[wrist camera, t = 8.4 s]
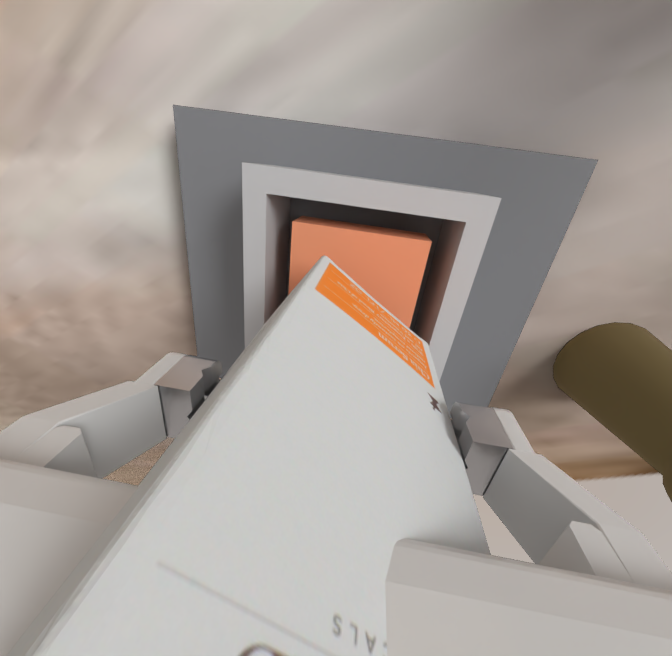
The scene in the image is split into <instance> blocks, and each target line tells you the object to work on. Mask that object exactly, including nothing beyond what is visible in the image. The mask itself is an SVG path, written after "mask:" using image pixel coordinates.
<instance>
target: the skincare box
mask: <svg viewBox="0 0 672 656" xmlns="http://www.w3.org/2000/svg"><path fill="white" fill-rule="evenodd" d="M138 486H139V487H138V488H137V490H136V491H135V492H134V494H133V495H132V496H131V497H130V499H129V500H128V501H127V503H126V504H125V505H124V506H123V508H122V509H121V510H120V511H119V513H118V514H117V515H116V517H115V518H114V519H113V520H112V522H111V523H110V524H109V526H108V527H107V528H106V529H105V531H104V532H103V533H102V534H101V536H100V537H99V538H98V540H97V541H96V542H95V543H94V545H93V546H92V547H91V548H90V550H89V551H88V552H87V554H86V555H85V556H84V557H83V559H82V560H81V561H80V562H79V564H78V565H77V566H76V567H75V569H74V570H73V571H72V573H71V574H70V575H69V576H68V578H67V579H66V580H65V581H64V583H63V584H62V585H61V587H60V588H59V589H58V590H57V592H56V593H55V594H54V595H53V597H52V598H51V599H50V600H49V602H48V603H47V604H46V606H45V607H44V608H43V609H42V611H41V612H40V613H39V614H38V616H37V617H36V618H35V620H34V621H33V622H32V623H31V625H30V626H29V627H28V628H27V630H26V631H25V632H24V633H23V635H22V636H21V637H20V639H19V640H18V641H17V643H16V644H15V645H14V646H13V648H12V649H11V650H10V652H9V653H8V654H7V656H387V632H386V592H385V580H386V576H387V572H388V568H389V564H390V560H391V556H392V552H393V548H394V545H395V544H396V542H397V541H398V540H401V539H412V540H417V541H422V542H427V543H432V544H437V545H442V546H448V547H453V548H458V549H463V550H468V551H473V552H478V553H483V554H488V555H491V554H490V551H489V547H488V544H487V540H486V537H485V534H484V530H483V527H482V523H481V520H480V517H479V514H478V510H477V506H476V503H475V500H474V497H473V493H472V490H471V486H470V483H469V479H468V476H467V473H466V470H465V466H464V462H463V459H462V455H461V452H460V449H459V446H458V442H457V439H456V435H455V432H454V429H453V426H452V423H451V419H450V416H449V412H448V409H447V406H446V403H445V399H444V396H443V392H442V389H441V386H440V382H439V379H438V376H437V372H436V369H435V365H434V361H433V359H432V355H431V352H430V349H429V345H428V343H427V342H426V341H424V340H423V339H422V338H420V337H419V336H418V335H416V334H415V333H414V332H413V331H412V330H410V329H409V328H408V327H407V326H406V325H405V324H403V323H402V322H401V321H400V320H399V319H398V318H396V317H395V316H394V315H393V314H392V313H390V312H389V311H388V310H387V309H386V308H384V307H383V306H382V305H381V304H380V303H379V302H377V301H376V300H375V299H374V298H373V297H372V296H371V295H369V294H368V293H367V292H366V291H365V290H364V289H363V288H362V287H361V286H359V285H358V284H357V283H356V282H355V281H354V280H353V279H352V278H351V277H350V276H348V275H347V274H346V273H345V272H344V271H343V270H342V269H340V268H339V267H338V266H337V265H336V264H335V263H334V262H333V261H332V260H331V259H330V258H328V257H327V256H325V255H324V256H322V257H321V258H320V259H319V260H318V261H317V262H316V264H315V265H314V266H313V267H312V268H311V269H310V271H309V272H308V273H307V274H306V275H305V276H304V277H303V279H302V280H301V281H300V282H299V283H298V284H297V286H296V287H295V288H294V289H293V290H292V291H291V293H290V294H289V295H288V296H287V297H286V299H285V300H284V301H283V302H282V303H281V305H280V306H279V307H278V308H277V309H276V311H275V312H274V313H273V314H272V315H271V317H270V318H269V319H268V320H267V322H266V323H265V324H264V325H263V326H262V328H261V329H260V330H259V332H258V333H257V334H256V335H255V337H254V338H253V339H252V341H251V342H250V343H249V345H248V346H247V347H246V348H245V350H244V351H243V352H242V353H241V355H240V356H239V357H238V359H237V360H236V361H235V362H234V364H233V365H232V366H231V367H230V369H229V370H228V371H227V373H226V374H225V375H224V376H223V378H222V379H221V380H220V382H219V383H218V384H217V385H216V387H215V388H214V389H213V391H212V392H211V393H210V395H209V396H208V397H207V398H206V400H205V401H204V402H203V404H202V405H201V406H200V407H199V409H198V410H197V411H196V412H195V414H194V415H193V416H192V418H191V419H190V420H189V421H188V423H187V424H186V425H185V426H184V428H183V429H182V430H181V432H180V433H179V434H178V435H177V437H176V438H175V439H174V440H173V442H172V443H171V444H170V446H169V447H168V448H167V449H166V451H165V452H164V453H163V454H162V456H161V457H160V458H159V460H158V461H157V462H156V463H155V465H154V466H153V467H152V469H151V470H150V471H149V472H148V474H147V475H146V476H145V477H144V479H143V480H142V481H141V483H140V484H139V485H138Z"/></svg>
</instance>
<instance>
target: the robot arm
mask: <svg viewBox="0 0 672 656" xmlns="http://www.w3.org/2000/svg"><path fill="white" fill-rule="evenodd" d="M221 374H222V364H221V362H220V361H218V360H213V359H208V358H203V357H197V356H192V355H186V354H181V353H176V352H171V353H168V354H166V355H165V356H164V357H163V358H162V359H161V360H159V361H158V362H157V363H156V364H155V365H153V366H152V367H151V368H150V369H149V370H148V371H146V372H145V373H144V374H143V375H142V376H140V377H139V378H138V379H137V380H136V381H135V382H133V381H127V382H124V383H121V384H118V385H115V386H112V387H109V388H106V389H103V390H100V391H97V392H94V393H91V394H88V395H85V396H82V397H79V398H76V399H73V400H70V401H67V402H64V403H61V404H58V405H55V406H52V407H49V408H46V409H43V410H40V411H37V412H34V413H31V414H28V415H25V416H23V417H21V418H20V419H18V420H17V421H15V422H14V423H12V424H11V425H9V426H8V427H7V428H5V429H4V430H2V431H1V432H0V656H7V654H8V653H9V652H10V650H11V649H12V648H13V646H14V645H15V644H16V643H17V641H18V640H19V639H20V637H21V636H22V635H23V633H24V632H25V631H26V630H27V628H28V627H29V626H30V625H31V623H32V622H33V621H34V620H35V618H36V617H37V616H38V614H39V613H40V612H41V611H42V609H43V608H44V607H45V606H46V604H47V603H48V602H49V600H50V599H51V598H52V597H53V595H54V594H55V593H56V592H57V590H58V589H59V588H60V587H61V585H62V584H63V583H64V581H65V580H66V579H67V578H68V576H69V575H70V574H71V573H72V571H73V570H74V569H75V567H76V566H77V565H78V564H79V562H80V561H81V560H82V559H83V557H84V556H85V555H86V554H87V552H88V551H89V550H90V548H91V547H92V546H93V545H94V543H95V542H96V541H97V540H98V538H99V537H100V536H101V534H102V533H103V532H104V531H105V529H106V528H107V527H108V526H109V524H110V523H111V522H112V520H113V519H114V518H115V517H116V515H117V514H118V513H119V511H120V510H121V509H122V508H123V506H124V505H125V504H126V503H127V501H128V500H129V499H130V497H131V496H132V495H133V494H134V492H135V491H136V490H137V488H138V487H139V486H137V485H132V484H127V483H122V482H117V481H112V480H107V479H102V478H104V477H105V476H107V475H109V474H110V473H112V472H113V471H115V470H117V469H118V468H120V467H121V466H123V465H125V464H126V463H128V462H130V461H131V460H133V459H134V458H136V457H138V456H139V455H141V454H142V453H144V452H146V451H147V450H149V449H151V448H152V447H154V446H155V445H157V444H159V443H160V442H162V441H163V440H165V439H166V438H167V437H171V438H176V437H177V435H178V434H179V433H180V432H181V430H182V429H183V428H184V426H185V425H186V424H187V423H188V421H189V420H190V419H191V418H192V416H193V415H194V414H195V412H196V411H197V410H198V409H199V407H200V406H201V405H202V404H203V402H204V401H205V400H206V398H207V397H208V396H209V395H210V393H211V392H212V391H213V389H214V388H215V387H216V385H217V384H218V383H219V382H220V380H219V376H220V375H221ZM450 414H451V418H452V420H451V423H452V426H453V429H454V432H455V435H456V439H457V442H458V446H459V449H460V452H461V455H462V459H463V462H464V466H465V470H466V473H467V476H468V479H469V483H470V486H471V490H472V493H473V494H476V495H481V496H483V498H484V500H485V501H486V502H487V503H488V505H489V506H490V507H491V508H492V510H493V511H494V512H495V513H496V515H497V516H498V517H499V519H500V520H501V521H502V522H503V524H504V525H505V526H506V527H507V529H508V530H509V531H510V533H511V534H512V535H513V536H514V537H515V539H516V540H517V541H518V543H519V544H520V545H521V546H522V548H523V549H524V550H525V552H526V553H527V554H528V555H529V557H530V558H531V559H532V560H533V562H534V563H535V564H534V563H529V562H524V561H518V560H514V559H508V558H503V557H498V556H493V555H488V554H483V553H478V552H473V551H468V550H463V549H458V548H453V547H448V546H442V545H437V544H432V543H427V542H422V541H417V540H412V539H401V540H398V541H397V542H396V544H395V545H394V548H393V552H392V556H391V560H390V564H389V568H388V572H387V576H386V580H385V592H386V632H387V656H672V572H671V571H670V570H669V568H668V567H667V566H666V564H665V563H664V562H663V560H662V559H661V558H660V556H659V555H658V553H657V552H656V551H655V549H654V548H653V547H652V545H651V544H650V543H649V541H648V540H647V539H646V537H645V536H644V535H643V533H642V532H640V531H639V530H638V529H637V528H635V527H634V526H633V525H631V524H630V523H629V522H628V521H626V520H625V519H624V518H622V517H621V516H620V515H618V514H617V513H616V512H615V511H613V510H612V509H611V508H610V507H608V506H607V505H606V504H604V503H603V502H602V501H600V500H599V499H598V498H596V497H595V496H594V495H593V494H591V493H590V492H589V491H588V490H586V489H585V488H584V487H582V486H581V485H580V484H579V483H577V482H576V481H575V480H573V479H572V478H571V477H570V476H568V475H567V474H566V473H564V472H563V471H562V470H560V469H559V468H558V467H557V466H555V465H554V464H553V463H551V462H550V461H549V460H548V459H546V458H545V457H544V456H542V455H541V454H536V453H535V452H534V450H533V449H532V447H531V445H530V443H529V442H528V440H527V438H526V436H525V435H524V433H523V431H522V429H521V428H520V426H519V424H518V422H517V421H516V419H515V417H514V415H513V414H512V412H511V411H509V410H508V409H501V408H494V407H484V406H478V405H472V404H466V403H460V402H455V403H454V404H453V405H452V408H451V410H450Z"/></svg>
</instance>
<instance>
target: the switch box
mask: <svg viewBox="0 0 672 656" xmlns="http://www.w3.org/2000/svg"><path fill="white" fill-rule="evenodd" d="M173 110H174V121H175V131H176V141H177V151H178V161H179V172H180V182H181V192H182V202H183V213H184V223H185V233H186V243H187V254H188V264H189V274H190V284H191V295H192V305H193V315H194V325H195V336H196V346H197V356H198V357H203V358H208V359H213V360H218V361H220V362H221V364H222V374H221V375H220V376H219V378H223V376H224V375H225V374H226V373H227V371H228V370H229V369H230V367H231V366H232V365H233V364H234V362H235V361H236V360H237V359H238V357H239V356H240V355H241V353H242V352H243V351H244V350H245V348H246V347H247V346H248V345H249V343H250V342H251V341H252V339H253V338H254V337H255V335H256V334H257V333H258V332H259V330H260V329H261V328H262V326H263V325H264V324H265V323H266V322H267V320H268V319H269V318H270V317H271V315H272V314H273V313H274V312H275V311H276V309H277V308H278V307H279V306H280V305H281V303H282V302H283V301H284V300H285V299H286V297H287V296H288V291H289V273H290V254H291V236H292V221H294V220H295V219H297V218H299V217H301V216H308V217H315V218H321V219H328V220H335V221H342V222H349V223H356V224H363V225H370V226H376V227H383V228H390V229H397V230H404V231H411V232H418V233H425V234H426V235H427V236H428V238H429V239H430V240H431V241H432V243H431V247H430V251H429V255H428V259H427V263H426V266H425V270H424V274H423V278H422V282H421V286H420V290H419V294H418V297H417V301H416V305H415V309H414V313H413V317H412V321H411V324H410V328H409V329H410V330H412V331H413V332H414V333H415V334H416V335H418V336H419V337H420V338H422V339H423V340H424V341H426V342H427V343H428V345H429V349H430V352H431V355H432V359H433V361H434V365H435V369H436V372H437V376H438V379H439V382H440V386H441V389H442V392H443V396H444V399H445V403H446V406H447V409H448V412H449V416H450V418H451V414H450V410H451V408H452V405H453V404H454V403H455V402H460V403H466V404H472V405H478V406H484V407H488V405H489V403H490V401H491V399H492V396H493V394H494V392H495V390H496V387H497V385H498V383H499V381H500V378H501V376H502V374H503V372H504V370H505V367H506V365H507V363H508V361H509V358H510V356H511V354H512V352H513V349H514V347H515V345H516V343H517V340H518V338H519V336H520V334H521V332H522V329H523V327H524V325H525V323H526V320H527V318H528V316H529V314H530V311H531V309H532V307H533V305H534V302H535V300H536V298H537V296H538V294H539V291H540V289H541V287H542V285H543V282H544V280H545V278H546V276H547V273H548V271H549V269H550V267H551V264H552V262H553V260H554V258H555V256H556V253H557V251H558V249H559V247H560V244H561V242H562V240H563V238H564V235H565V233H566V231H567V229H568V226H569V224H570V222H571V220H572V218H573V215H574V213H575V211H576V209H577V206H578V204H579V202H580V200H581V197H582V195H583V193H584V191H585V188H586V186H587V184H588V182H589V180H590V177H591V175H592V173H593V171H594V168H595V166H596V164H597V162H598V160H595V159H587V158H579V157H572V156H564V155H556V154H549V153H541V152H533V151H525V150H518V149H510V148H502V147H495V146H487V145H479V144H472V143H464V142H456V141H448V140H441V139H433V138H425V137H418V136H410V135H402V134H394V133H387V132H379V131H371V130H364V129H356V128H348V127H340V126H333V125H325V124H317V123H310V122H302V121H294V120H287V119H279V118H271V117H263V116H256V115H248V114H240V113H233V112H225V111H217V110H209V109H202V108H194V107H186V106H179V105H173Z"/></svg>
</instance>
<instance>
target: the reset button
mask: <svg viewBox="0 0 672 656" xmlns="http://www.w3.org/2000/svg"><path fill="white" fill-rule="evenodd" d="M431 243H432V241H431V240H430V239H429V238H428V236H427V235H426V234H425V233H418V232H411V231H404V230H397V229H390V228H383V227H376V226H370V225H363V224H356V223H349V222H342V221H335V220H328V219H321V218H315V217H308V216H301V217H299V218H297V219H295V220H294V221H292V236H291V254H290V273H289V291H288V295H289V294H290V293H291V291H292V290H293V289H294V288H295V287H296V286H297V284H298V283H299V282H300V281H301V280H302V279H303V277H304V276H305V275H306V274H307V273H308V272H309V271H310V269H311V268H312V267H313V266H314V265H315V264H316V262H317V261H318V260H319V259H320V258H321V257H322V256H324V255H325V256H327V257H328V258H330V259H331V260H332V261H333V262H334V263H335V264H336V265H337V266H338V267H339V268H340V269H342V270H343V271H344V272H345V273H346V274H347V275H348V276H350V277H351V278H352V279H353V280H354V281H355V282H356V283H357V284H358V285H359V286H361V287H362V288H363V289H364V290H365V291H366V292H367V293H368V294H369V295H371V296H372V297H373V298H374V299H375V300H376V301H377V302H379V303H380V304H381V305H382V306H383V307H384V308H386V309H387V310H388V311H389V312H390V313H392V314H393V315H394V316H395V317H396V318H398V319H399V320H400V321H401V322H402V323H403V324H405V325H406V326H407V327H408V328H410V324H411V321H412V317H413V313H414V309H415V305H416V301H417V297H418V294H419V290H420V286H421V282H422V278H423V274H424V270H425V266H426V263H427V259H428V255H429V251H430V247H431Z"/></svg>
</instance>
